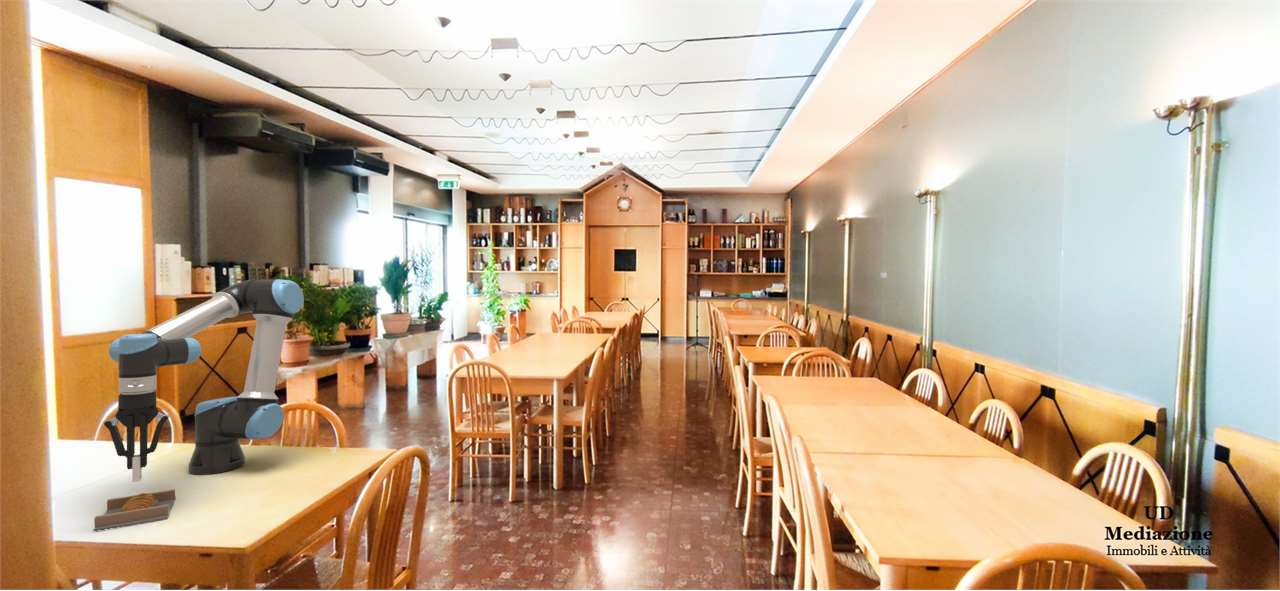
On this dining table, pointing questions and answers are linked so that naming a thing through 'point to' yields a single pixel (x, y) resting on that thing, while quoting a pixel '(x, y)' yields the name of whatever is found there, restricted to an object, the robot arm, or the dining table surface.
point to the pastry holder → (135, 511)
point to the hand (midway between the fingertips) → (136, 480)
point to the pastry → (140, 502)
